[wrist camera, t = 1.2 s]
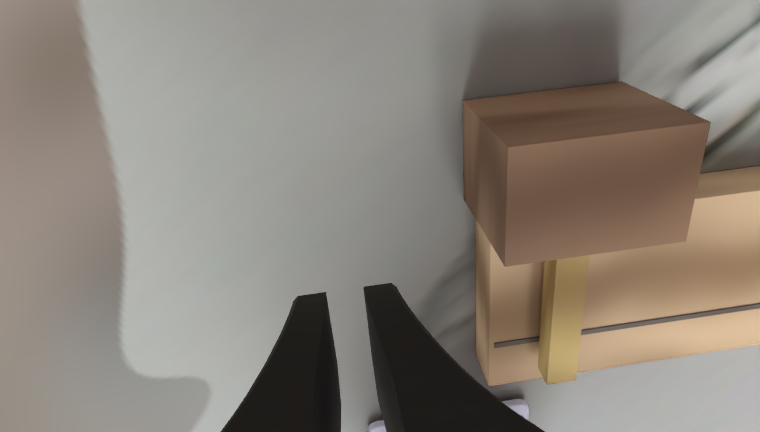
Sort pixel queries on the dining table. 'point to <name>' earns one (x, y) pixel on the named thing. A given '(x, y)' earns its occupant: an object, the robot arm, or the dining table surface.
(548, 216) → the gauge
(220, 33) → the dining table surface
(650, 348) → the board
